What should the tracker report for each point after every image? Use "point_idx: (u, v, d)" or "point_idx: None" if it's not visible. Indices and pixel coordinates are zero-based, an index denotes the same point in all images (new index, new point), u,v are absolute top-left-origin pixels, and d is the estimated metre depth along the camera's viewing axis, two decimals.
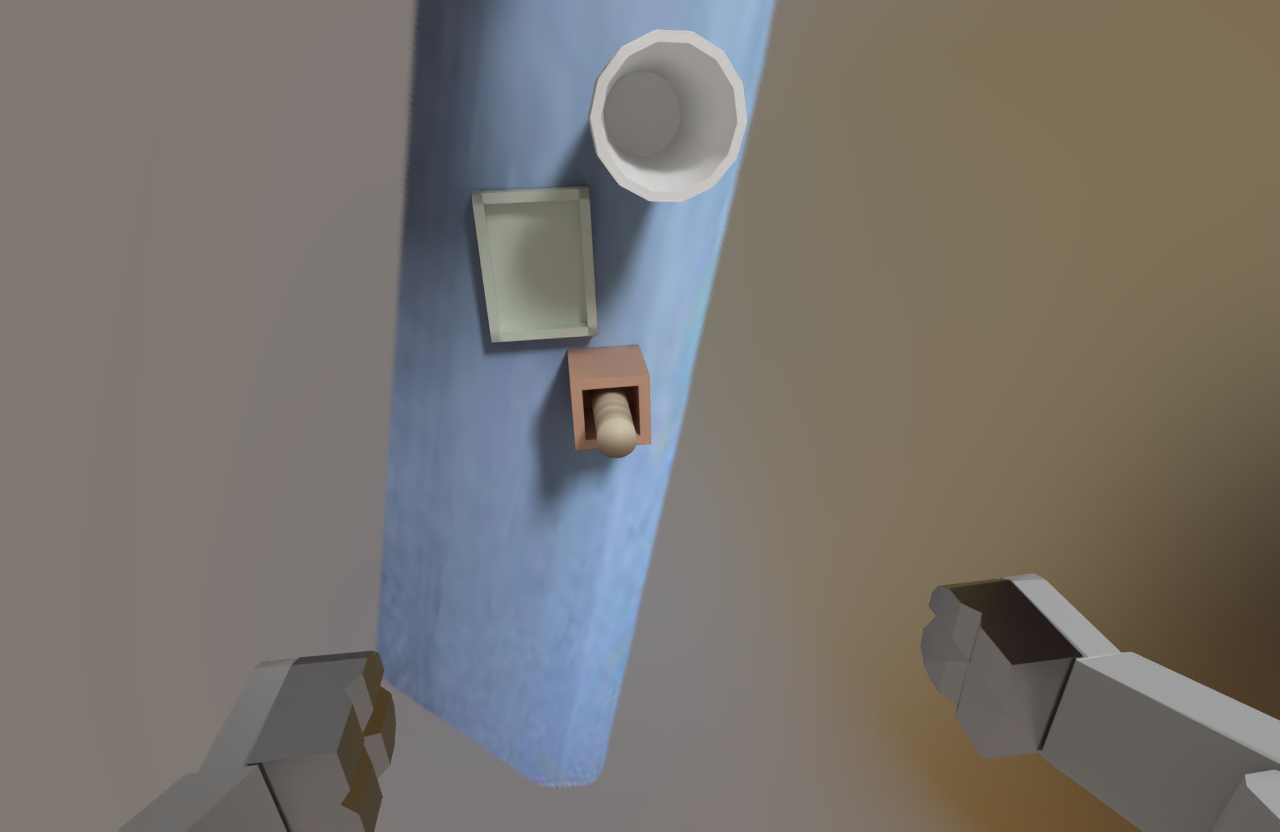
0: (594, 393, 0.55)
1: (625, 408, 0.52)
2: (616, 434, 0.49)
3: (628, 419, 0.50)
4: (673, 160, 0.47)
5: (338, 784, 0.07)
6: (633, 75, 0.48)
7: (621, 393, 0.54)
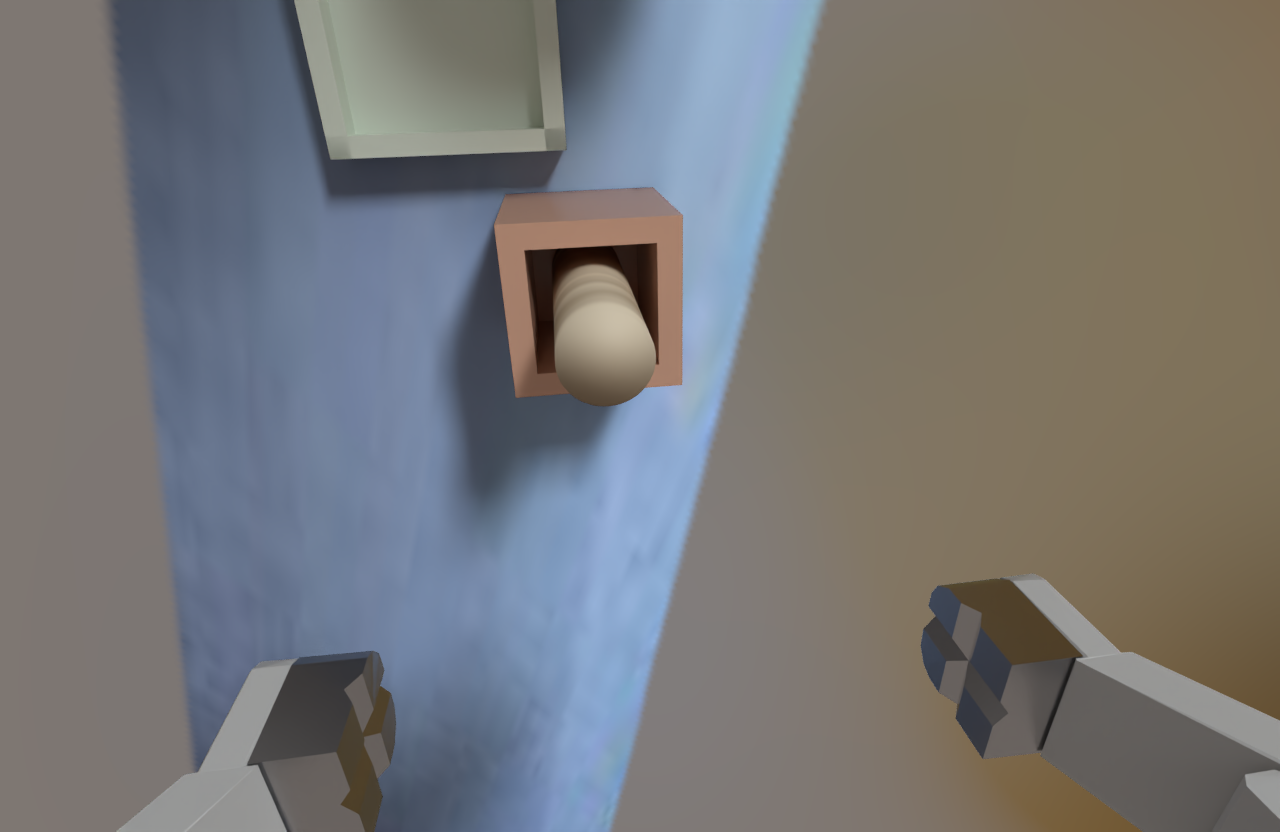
0: (558, 273, 0.25)
1: (626, 291, 0.22)
2: (604, 344, 0.19)
3: (634, 310, 0.20)
4: None
5: (338, 784, 0.07)
6: None
7: (617, 269, 0.24)
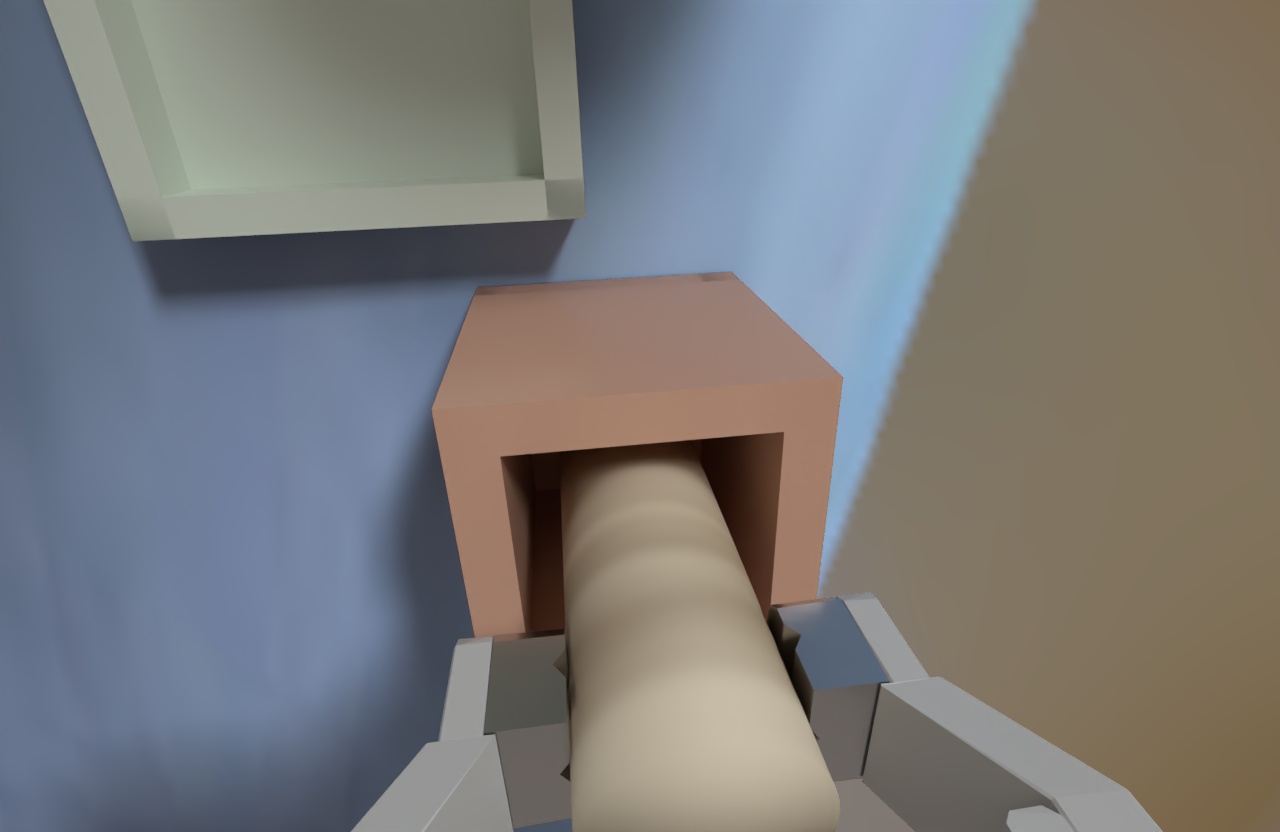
0: (571, 459, 0.13)
1: (728, 561, 0.10)
2: (709, 808, 0.07)
3: (769, 663, 0.08)
4: None
5: (562, 754, 0.08)
6: None
7: (689, 462, 0.12)
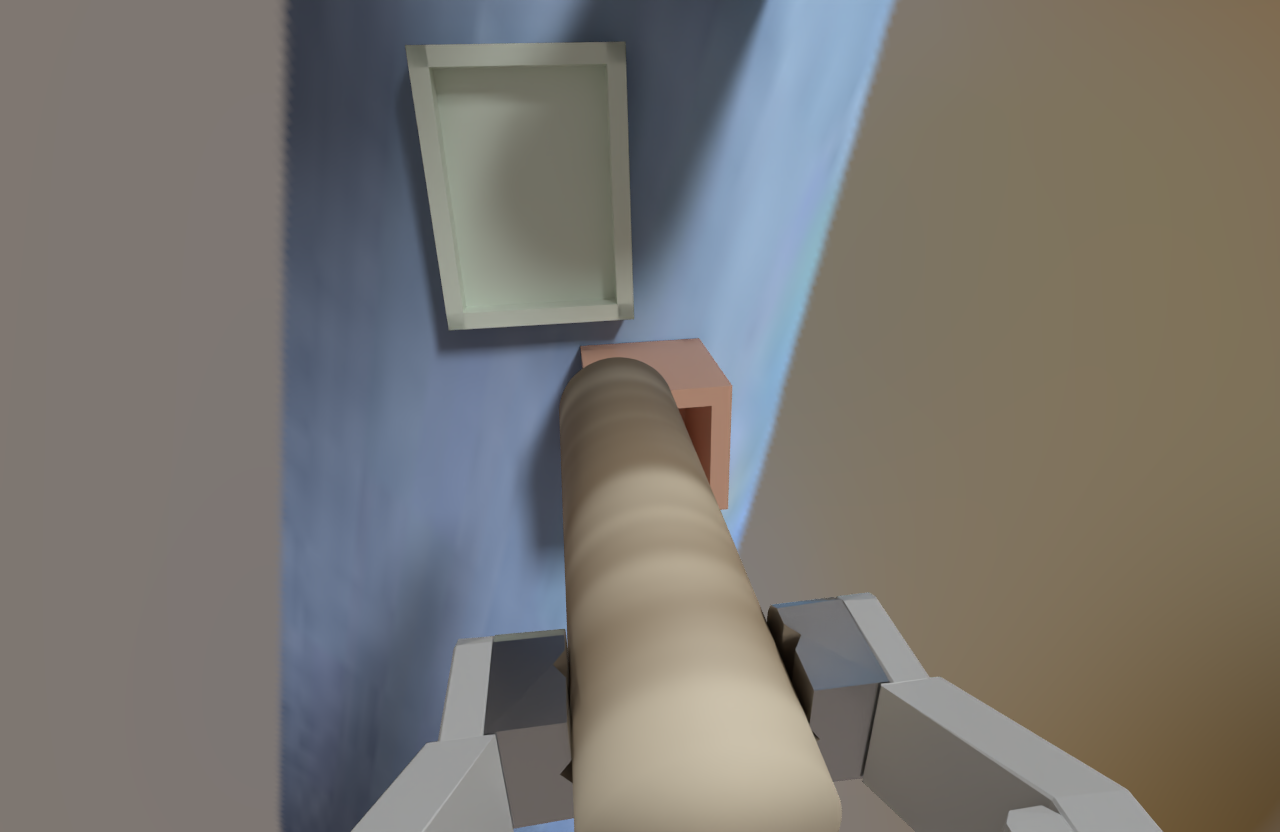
0: (572, 463, 0.13)
1: (730, 565, 0.10)
2: (710, 812, 0.07)
3: (771, 668, 0.08)
4: None
5: (562, 754, 0.08)
6: None
7: (691, 466, 0.12)
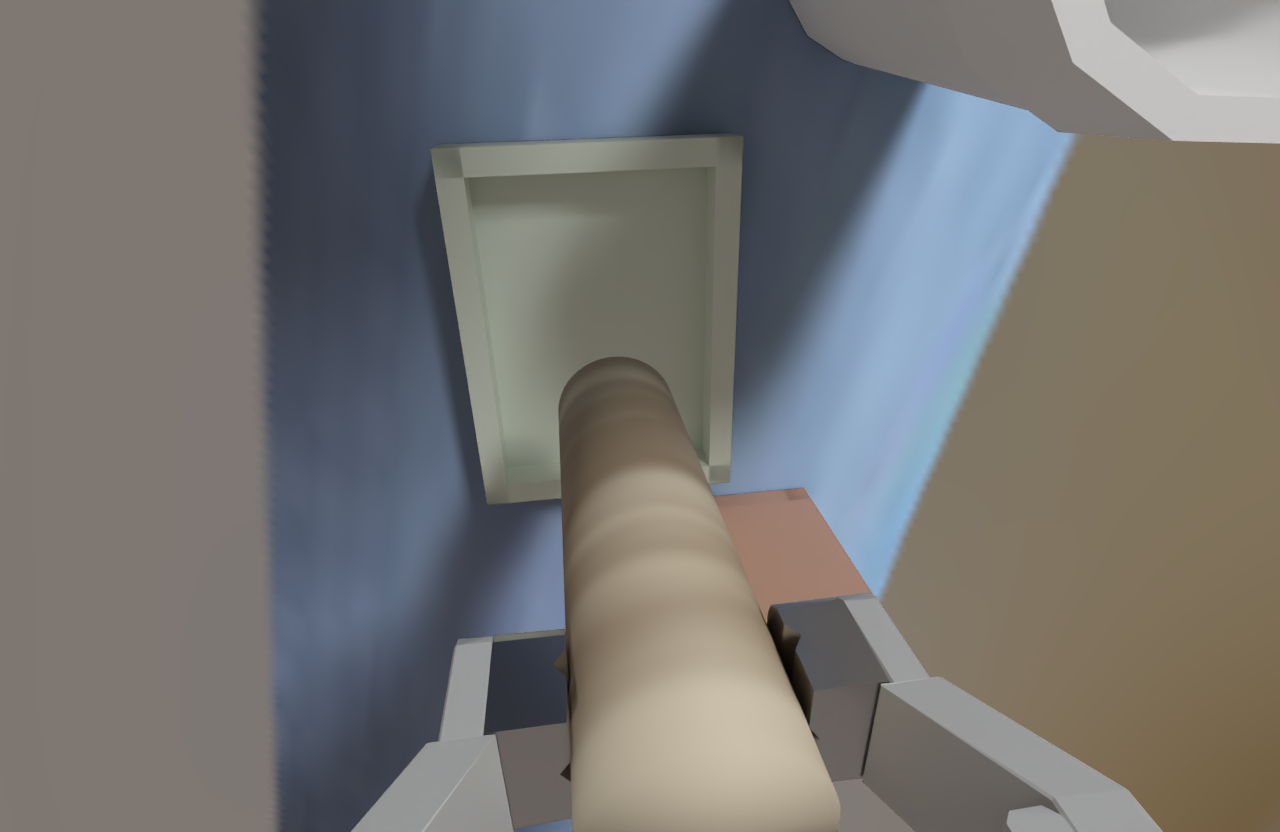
0: (572, 462, 0.13)
1: (729, 565, 0.10)
2: (709, 812, 0.07)
3: (770, 667, 0.08)
4: None
5: (562, 754, 0.08)
6: None
7: (690, 465, 0.12)
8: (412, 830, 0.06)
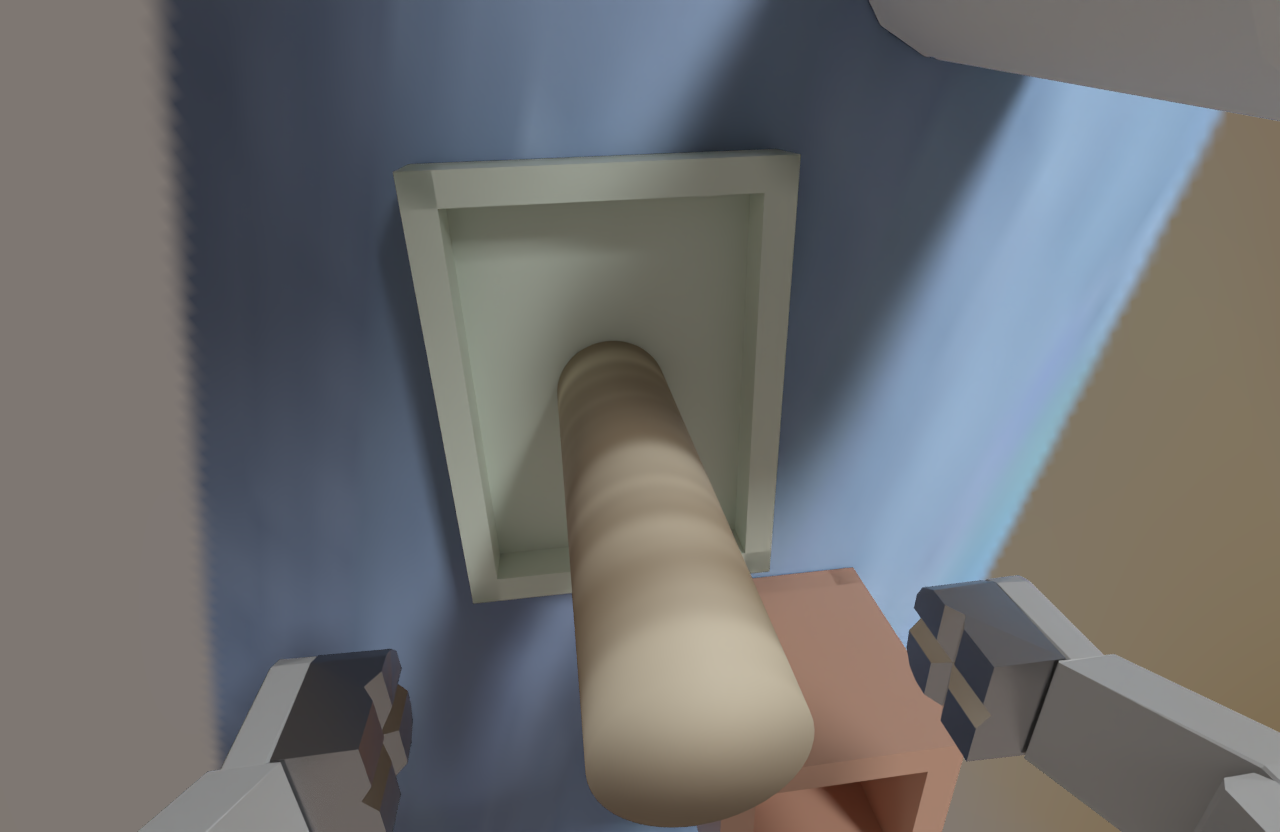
0: (573, 438, 0.14)
1: (718, 526, 0.11)
2: (702, 729, 0.08)
3: (754, 610, 0.09)
4: None
5: (359, 781, 0.07)
6: None
7: (682, 440, 0.13)
8: None
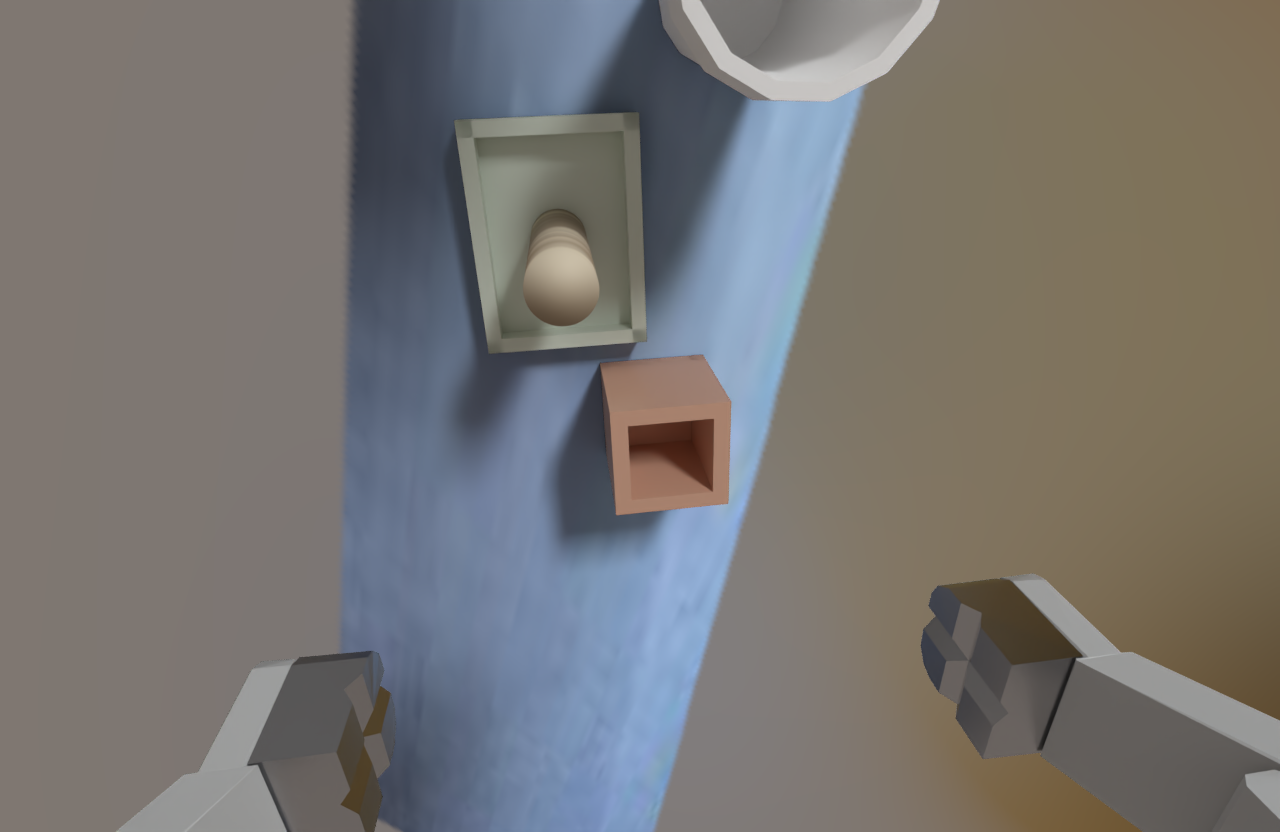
0: (532, 236, 0.31)
1: (581, 244, 0.28)
2: (559, 276, 0.25)
3: (584, 254, 0.26)
4: (782, 56, 0.29)
5: (339, 784, 0.07)
6: None
7: (578, 231, 0.31)
8: None
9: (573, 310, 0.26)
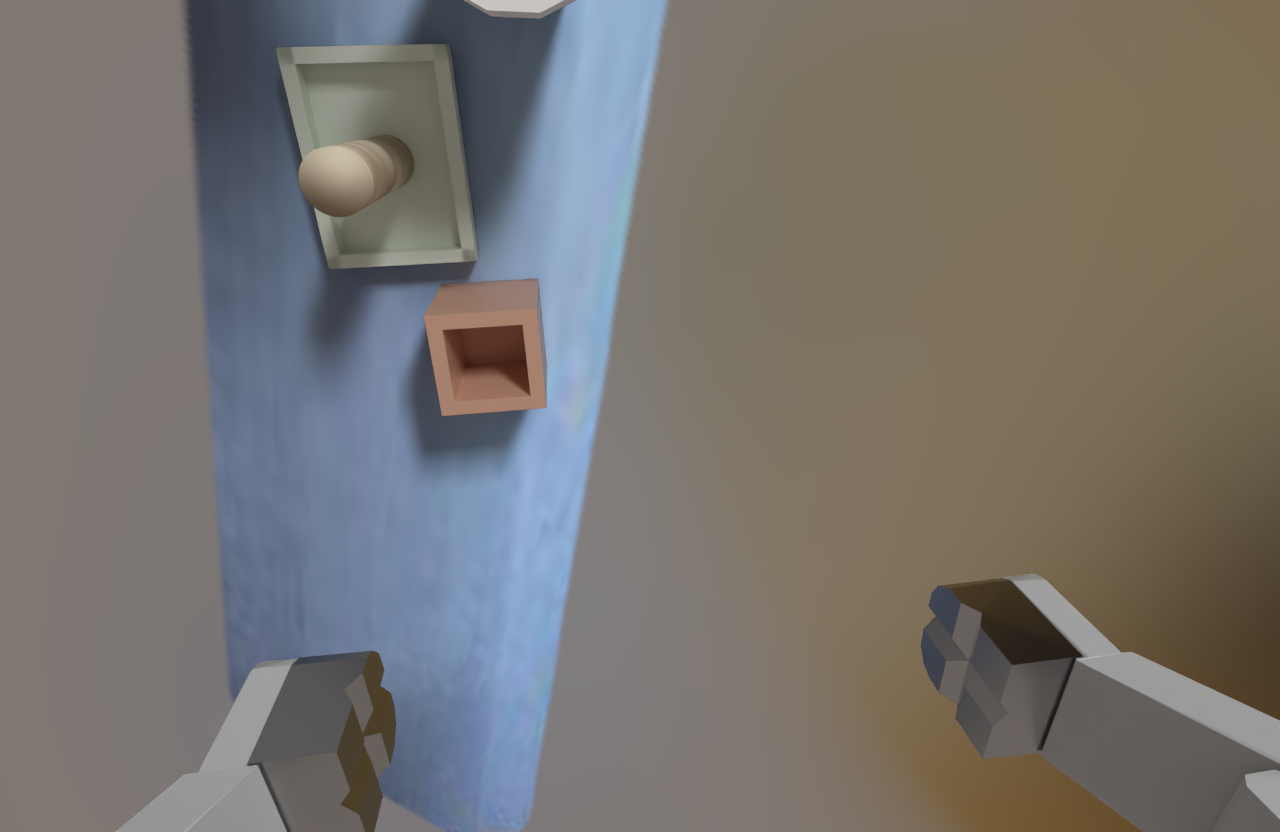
0: None
1: (369, 150, 0.32)
2: (331, 170, 0.29)
3: (360, 154, 0.30)
4: None
5: (338, 784, 0.07)
6: None
7: (382, 146, 0.34)
8: None
9: (347, 202, 0.30)
